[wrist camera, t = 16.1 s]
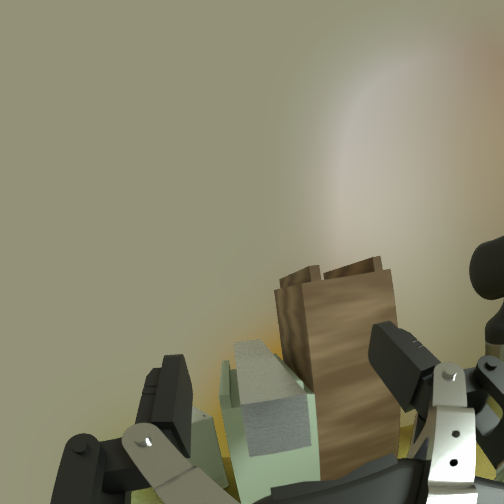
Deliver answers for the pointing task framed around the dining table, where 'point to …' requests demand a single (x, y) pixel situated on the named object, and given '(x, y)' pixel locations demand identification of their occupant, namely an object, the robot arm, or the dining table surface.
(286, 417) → the bar
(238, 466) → the light grey box
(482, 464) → the dining table surface
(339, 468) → the tall wooden box
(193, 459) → the skincare box
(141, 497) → the dining table surface
